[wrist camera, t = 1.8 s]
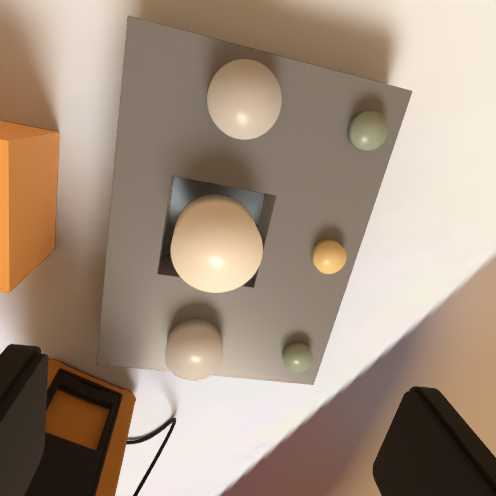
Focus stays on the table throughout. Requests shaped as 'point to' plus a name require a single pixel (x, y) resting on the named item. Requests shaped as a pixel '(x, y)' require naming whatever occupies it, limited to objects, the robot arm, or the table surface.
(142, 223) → the grey flat block
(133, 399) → the multimeter
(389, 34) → the table surface
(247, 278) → the button
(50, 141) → the orange block
